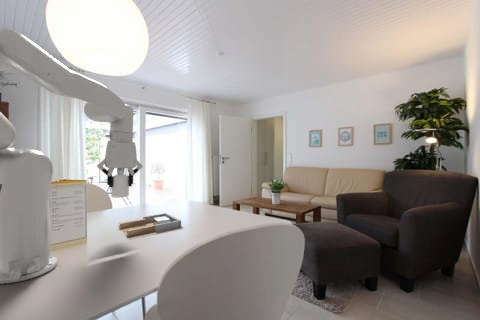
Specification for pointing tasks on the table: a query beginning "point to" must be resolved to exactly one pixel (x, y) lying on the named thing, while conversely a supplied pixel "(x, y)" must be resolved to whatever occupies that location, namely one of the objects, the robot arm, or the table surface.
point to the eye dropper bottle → (120, 184)
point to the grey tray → (164, 226)
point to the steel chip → (160, 220)
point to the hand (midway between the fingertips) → (120, 186)
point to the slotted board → (140, 228)
